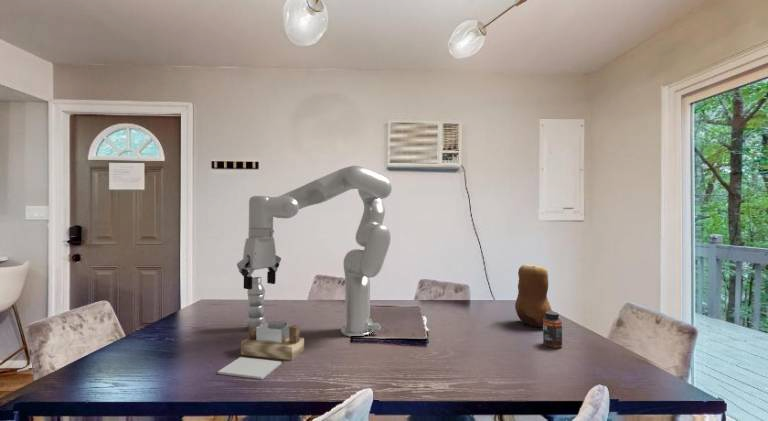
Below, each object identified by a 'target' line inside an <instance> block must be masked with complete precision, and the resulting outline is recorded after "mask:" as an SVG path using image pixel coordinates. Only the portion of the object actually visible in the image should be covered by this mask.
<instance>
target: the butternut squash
mask: <svg viewBox="0 0 768 421" xmlns="http://www.w3.org/2000/svg"><path fill="white" fill-rule="evenodd" d="M517 275H518V282H517V283H518V284H517V292H518V294H517V297H516V301H515V304H514V309H515V311H516V315H517V317H518V318H519V320H520V321H521V322H522V323H524V324H527V325H529V326H530V327H535V328H538V327H543V319H544V318H545V317H546V312H547V311H552V307H551V304H550V301H549V298H548V292H549V291H548V290H549V274H548V270H547V269H546V268H545V267H544V266H540V265H536V264H534V263H533V264H532V263H527V264H525V263H524V264H522V265H520V267H519V269H518V272H517ZM552 312H553V311H552Z"/></svg>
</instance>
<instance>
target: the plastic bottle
mask: <svg viewBox="0 0 768 421" xmlns="http://www.w3.org/2000/svg"><path fill="white" fill-rule="evenodd" d="M252 277H253V276H252ZM246 292H247V299H248V316H247V321H246V324H247V328H248V330H249V329H250V328H253V327H258V326H260V325H262V324H264V323H266V317H265V312H264V304H265V302H264V300H265V295H266V294H265V293H266V290H265V288H264V286H263V284H262V277H261V276H255V277H253V279H252V289H247V291H246Z"/></svg>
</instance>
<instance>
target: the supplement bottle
mask: <svg viewBox="0 0 768 421" xmlns="http://www.w3.org/2000/svg"><path fill="white" fill-rule="evenodd" d="M542 333H543V334H542V336H543V339H542V340H543V341H542V342H543V343H542V344H544V346H546V347H548V348H551V349H552V348H553V349H559V348H562V347H563V322H562V320H561V319H560V316H559V312H557V311H547V312H546V317H545V318H544V319H543V326H542Z"/></svg>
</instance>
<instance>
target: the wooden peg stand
mask: <svg viewBox="0 0 768 421" xmlns="http://www.w3.org/2000/svg"><path fill="white" fill-rule="evenodd" d="M256 328H257V327H253V328H250V329H249V328H248V335H247V338H246V339H244V340H242V341H241V342H240V355H243V356H252V357H261V358H270V359H278V360H279V359H280V360H285V361H286V360H287V361H293V360H294V359H295V358H297V357H298V356H299V355H300V354H301V353H302V352H304V351H305V338H304V337H301V336H300V335H301V334H300V333H301V332H300V328H301V325H300V324H292V325H291V326H290V327H289V339H288V340H287V341H285V342H284V343H282V344H277V343H267V342H257V341H256Z"/></svg>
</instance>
